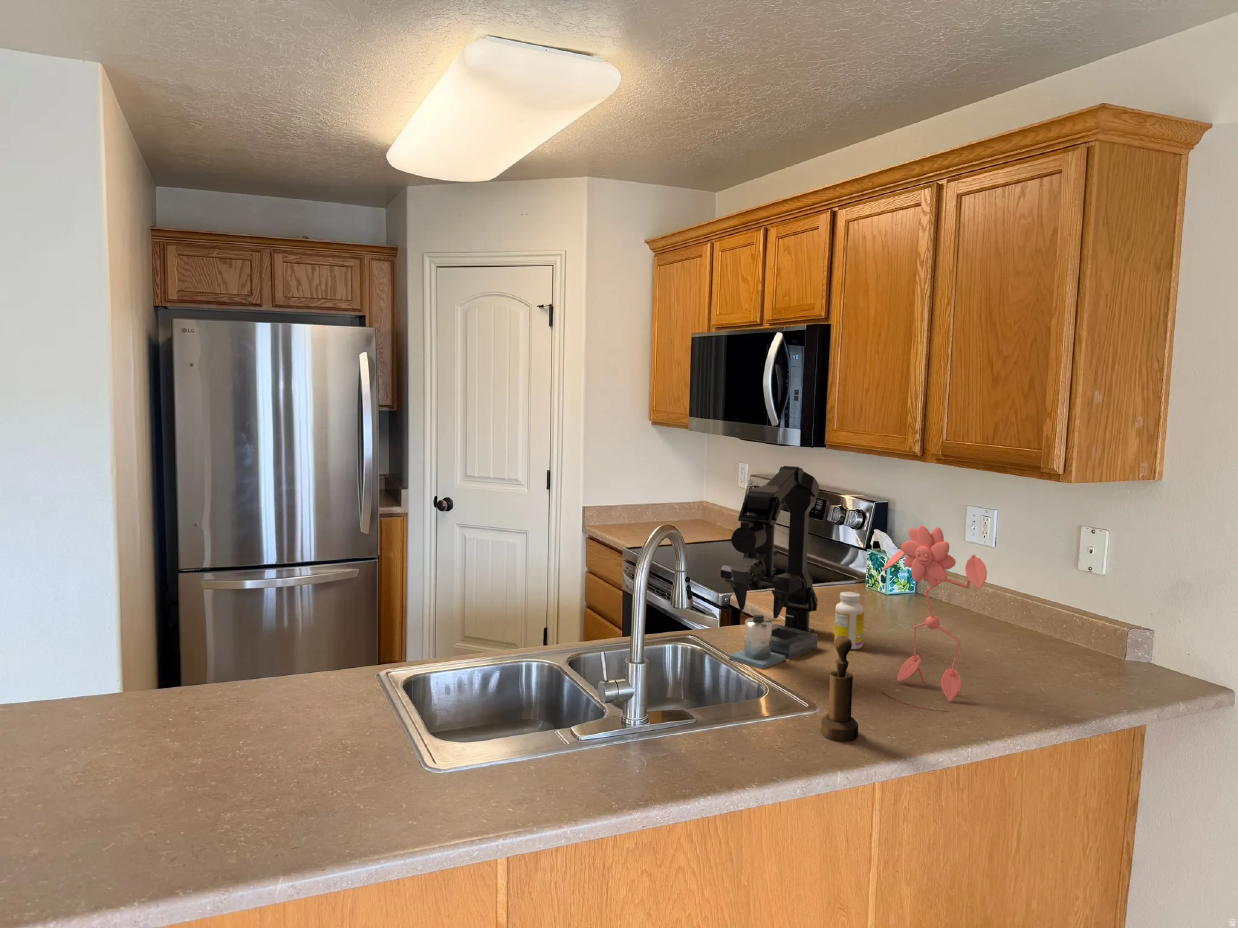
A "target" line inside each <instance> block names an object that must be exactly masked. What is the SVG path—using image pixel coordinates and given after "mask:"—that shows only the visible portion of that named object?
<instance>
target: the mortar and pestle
mask: <svg viewBox="0 0 1238 928" xmlns="http://www.w3.org/2000/svg"><path fill="white" fill-rule="evenodd" d="M851 647H852V642H851V640H850V639H849V638H848V637H845V636H839V637H837V638H836V640H835V643H834V648H835V650H836V652H837V655H838V657H837V659H835V668H836V670H833V671H831V672H830V673H829V697H828V699H829V701H828V705H829V706H828V713H827V714H826V715H824V716H823V717H822V718H821V721H820V733H821V735H822V736H823V737H824V738H826V739H829V740H832V741H837V742H852V741H854V740H856V739H857V738H858V737H859V722H858V721H857V720H856V719H855V718H854V717H853V716H852V705H853V703H852V702H853V701H852V700H853V682H854V681H853V680H854V676H853V674H852V673H851V672H849V671H847V670H848V667H849V661H848V659H847V657H848V656H847V655H848V654H849V652H850V651H851V650H852V649H851Z"/></svg>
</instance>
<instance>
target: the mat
mask: <svg viewBox="0 0 1238 928" xmlns="http://www.w3.org/2000/svg"><path fill="white" fill-rule="evenodd" d="M728 659H732V660H731V661H733V660H734V661H733V662H736V661H737V663H739V662H740V664H743V665H747V666H750V667H754V668H757V669H760V670H764V669H766V668H769V667H771V666H774V665H777V664H779V663H781V662H784V661H785V660H786V659H785V656H783V655H780V654H776V653H773V652H771V657H770V658H769V659H765V660H755V659H750V658H747V657H745V656H744V649H743V650H741V651H737V652H734V653H732V654H729V657H728Z"/></svg>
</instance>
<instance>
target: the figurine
mask: <svg viewBox="0 0 1238 928" xmlns="http://www.w3.org/2000/svg"><path fill="white" fill-rule="evenodd" d="M908 536H909V538H910V540H907V541H905V542H903V543H902V544H901V546H900V550H898V551H896V553H895V554H893V556H892V557H890V558H889V560H888V561H887V562H886V563H885V565H884V566H883V568H882V571H886V570H888V569H889V568H892V567H893V566H894V565H896V564H897V563H899V561H900V560H901V559H903V557H904V556H905V558H904V565H905V567H907V568H910V569H911V572H910V573H911V576H912V579H913V581H914V582H916V583H918V582H921V581H922V580H923V581H924V582H927V583H928V584H929V585H930V586H929V588H927V589H926V590H925V591H924V594H925V598H926V603H927V606H928V611H929V615H930V616H928V617H926V619H925V622H922V623H920V624H916V625H914V626H913V655H912V656H910V657H909V658H907V659H906V660H905V661H904V663H902V665H901V667H900V668H899V670H898V675H897V678H896V679H897V680H896V682H897V683H900V682H904V681H906V680H908V679H910V678H911V677H912V676H914V675H915V674H916V673H917V671H918V673H919V677H920V680H921V682H922V683H924V682H925V681H926V680H925V678H924V675H923V672H922V669H921V667H920V665H921V663H922V660H921V658H922V657H921V656H920V655H919V654H917V643H916V642H917V630H916V628H918V627H921V626H924V625H925V626H927V628H929V630H930V629H931V630H936V629H939V630H940V631H942V632H943V633H945V634H947V635H949V636H950V637H952V638H953V639H955V640H956V641H958V642H957V645H956V650H955V655H954V658H953V663H952V667H950V668H947V669H945V671H944V673H943V674H942V676H941V678H940V679H941V681H940V685H941V691H942V692H943V693H944V695H945V697H946V699H947V700H948V702H951V701H952V700H953V699H954V698H956V696H957V697H961V692H960V689H961V686H962V679H961V676H960V674H959V672H958V671H957V670H956V669H955V665H956V661H957V658H958V653H959V649H960V646H961V639H959V638H957V637H956V636H955V635H953V634H952V633H949V632H948V631H946V630H945V629H943V628H942V627H940V625H941V623H940V622H941V621H940V619H939V618H938V617H937V616H935V615H933V613H932V607H931V602H930V597H929V592H930V591H932V590H933V589H934V588H936V587H937V586H939V585H940V584H941V583H943V582H945V583H946V582H948V583H950V584H953V585H956V586H958V587H961V588H965V589H967V590H969V587H970V585H971V584H972V585H973V586H974V587H976V589H978V590H981V589H982V588H983V586H984V585H985V582H986V580H987V574H988V571H987V567H986V564H985V563H984V562H983V560H982V559H981V557H980V558H979V557H977V555H975V554H972V555H971V556H970V558H968V559H967V560H966V564H965V567H964V568H965V569H964V571H965V575H966V577H967V581H966V584H963V583H960V582H957V581H954V580H951V579H948V577H949V576H948V573H947V570H950V569H953V568H954V567H955V566H956V559H955V558H954V557H953V556H952V555H950V554H949V552H950V543H949V542H948V541H945V538H944V533H943V530H942V529H941V527H938V526H936V527H935V528H934V529H933V530H932V531H931V533H930V531H929V529H928V528H927V527H925V525H922V524H920V525H918V529H917V528H909V529H908ZM880 692H881V693H882V694H884V695H885V696H886V697H888V698H890V699H892V700H893V701H895V702H897V703H899V704H900V703H901V704H903V705H906V706H910V707H914V708H918V709H920V710H925V711H926V710H928V711H936V712H941V710H939V709H931V708H925V707H919V706H917V705H912V704H908V703H906V702H902V701H900V700H897V699H895V698H893V697H891V696H889V695H887V694H886V693H884V692H883V691H882V690H880ZM942 712H943V713H944V712H945V713H949V712H951V711H950V710H942Z"/></svg>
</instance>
